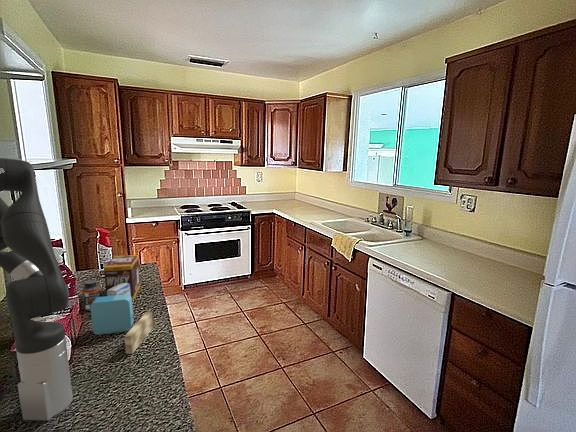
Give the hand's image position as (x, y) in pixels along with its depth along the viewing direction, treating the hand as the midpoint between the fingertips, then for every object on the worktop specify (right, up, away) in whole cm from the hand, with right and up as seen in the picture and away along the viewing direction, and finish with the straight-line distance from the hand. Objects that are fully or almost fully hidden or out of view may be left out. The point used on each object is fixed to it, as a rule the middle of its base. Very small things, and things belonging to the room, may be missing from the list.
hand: (71, 309), depth 110 cm
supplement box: (+3, -2, +30) cm, 30 cm away
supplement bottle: (-3, -4, +17) cm, 18 cm away
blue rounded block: (+14, -8, +2) cm, 16 cm away
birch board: (+26, -9, -4) cm, 28 cm away
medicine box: (+7, -4, +19) cm, 20 cm away
